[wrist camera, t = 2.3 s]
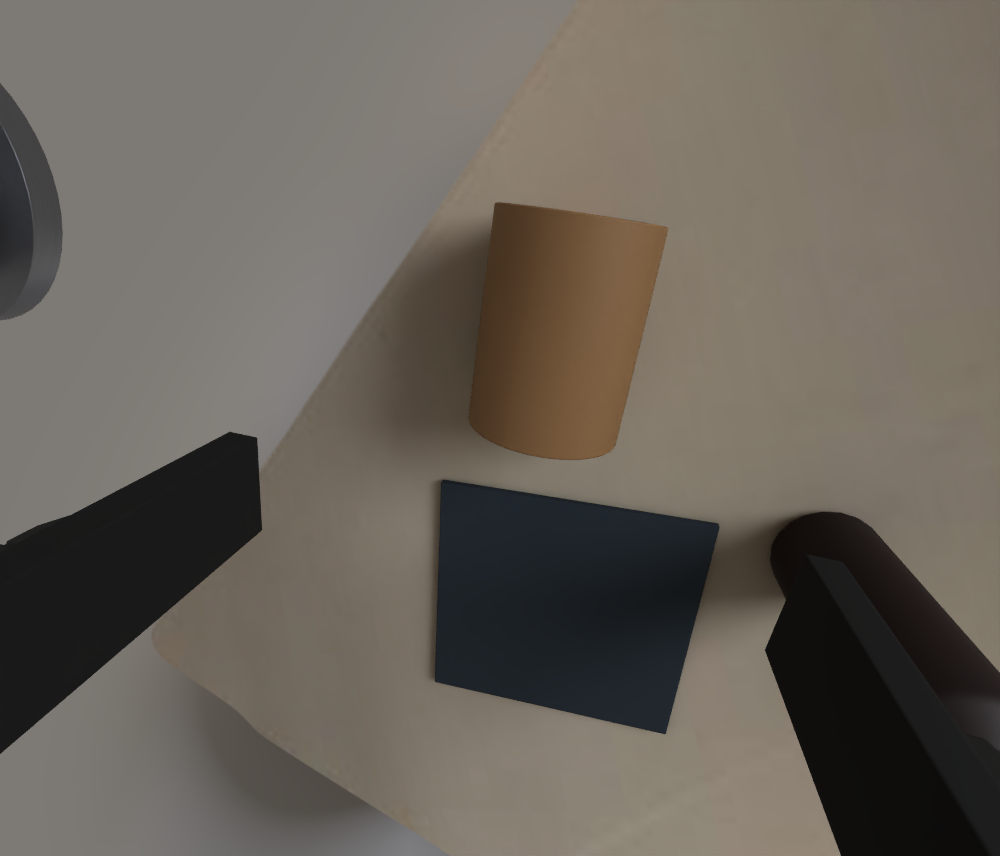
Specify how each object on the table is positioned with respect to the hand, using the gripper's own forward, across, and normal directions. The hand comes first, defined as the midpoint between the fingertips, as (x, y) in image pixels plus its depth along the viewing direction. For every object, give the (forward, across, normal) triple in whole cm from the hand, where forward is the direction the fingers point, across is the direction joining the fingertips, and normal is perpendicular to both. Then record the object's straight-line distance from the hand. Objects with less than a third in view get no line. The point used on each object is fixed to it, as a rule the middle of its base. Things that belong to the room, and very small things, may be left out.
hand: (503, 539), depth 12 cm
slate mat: (+23, -3, +21) cm, 32 cm away
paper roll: (+19, +1, -2) cm, 19 cm away
